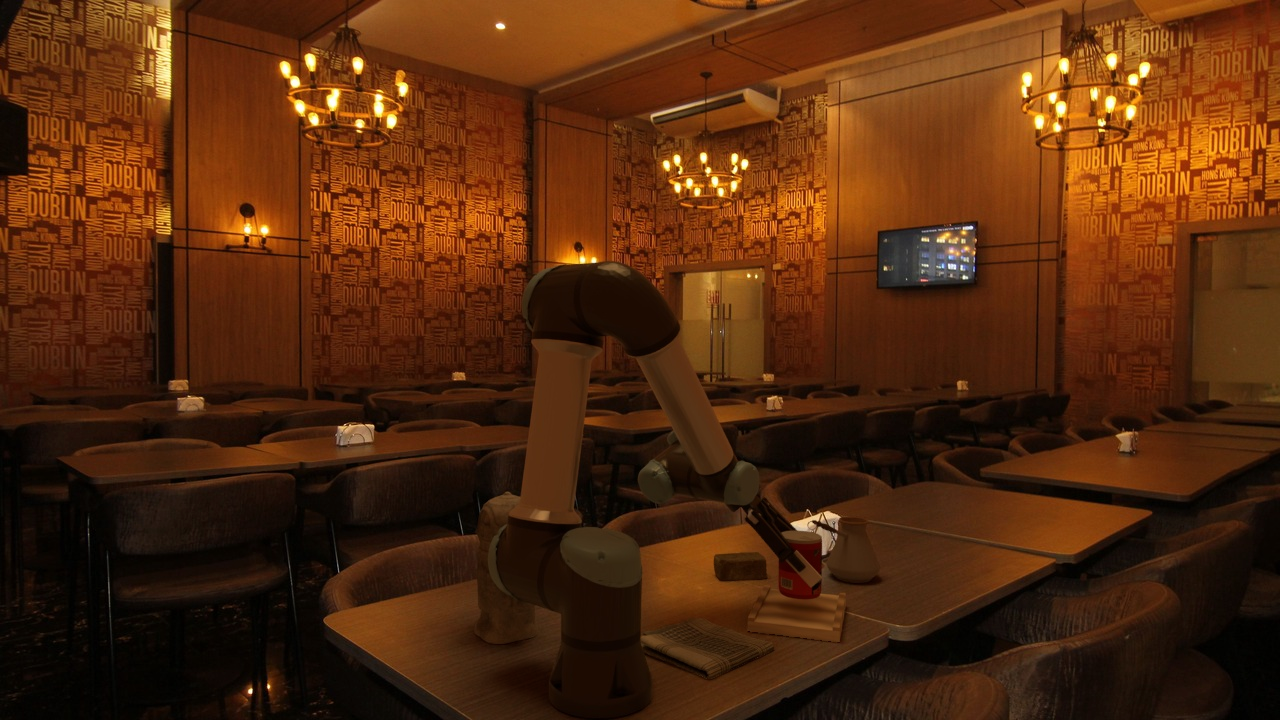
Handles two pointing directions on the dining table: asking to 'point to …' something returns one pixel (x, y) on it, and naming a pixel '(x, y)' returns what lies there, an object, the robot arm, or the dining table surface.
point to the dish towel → (703, 647)
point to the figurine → (498, 609)
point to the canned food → (812, 552)
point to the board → (798, 615)
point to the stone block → (740, 566)
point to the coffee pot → (851, 551)
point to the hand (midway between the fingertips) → (818, 575)
